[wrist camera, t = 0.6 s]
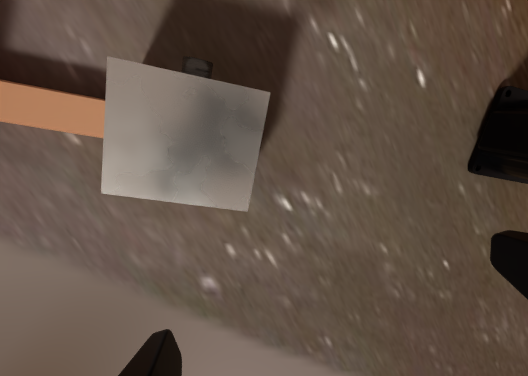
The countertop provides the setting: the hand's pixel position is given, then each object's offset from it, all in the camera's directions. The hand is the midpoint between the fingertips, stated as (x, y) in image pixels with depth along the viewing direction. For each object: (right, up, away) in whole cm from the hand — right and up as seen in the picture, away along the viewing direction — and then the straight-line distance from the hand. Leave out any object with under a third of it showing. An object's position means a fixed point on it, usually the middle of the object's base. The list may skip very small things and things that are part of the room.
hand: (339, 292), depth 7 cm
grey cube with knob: (-7, +6, +10) cm, 14 cm away
